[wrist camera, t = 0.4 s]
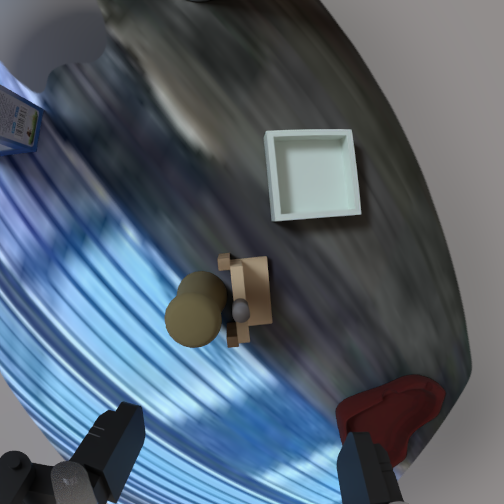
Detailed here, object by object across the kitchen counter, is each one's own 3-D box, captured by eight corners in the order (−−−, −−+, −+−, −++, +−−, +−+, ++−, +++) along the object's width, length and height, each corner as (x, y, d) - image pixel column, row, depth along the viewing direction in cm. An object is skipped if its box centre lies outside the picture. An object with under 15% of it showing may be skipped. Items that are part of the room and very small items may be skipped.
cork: (237, 292, 37) (240, 321, 26) (206, 329, 38) (197, 369, 27) (197, 260, 37) (184, 276, 26) (167, 299, 37) (143, 328, 26)
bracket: (219, 253, 37) (215, 264, 28) (265, 249, 37) (276, 258, 28) (227, 332, 38) (227, 363, 29) (272, 327, 38) (283, 357, 29)
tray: (263, 138, 36) (266, 131, 33) (342, 135, 36) (351, 129, 33) (271, 221, 37) (275, 221, 34) (351, 214, 37) (361, 214, 34)
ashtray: (366, 349, 40) (381, 363, 35) (438, 377, 41) (454, 390, 36) (302, 445, 41) (309, 466, 36) (379, 460, 42) (390, 477, 37)
